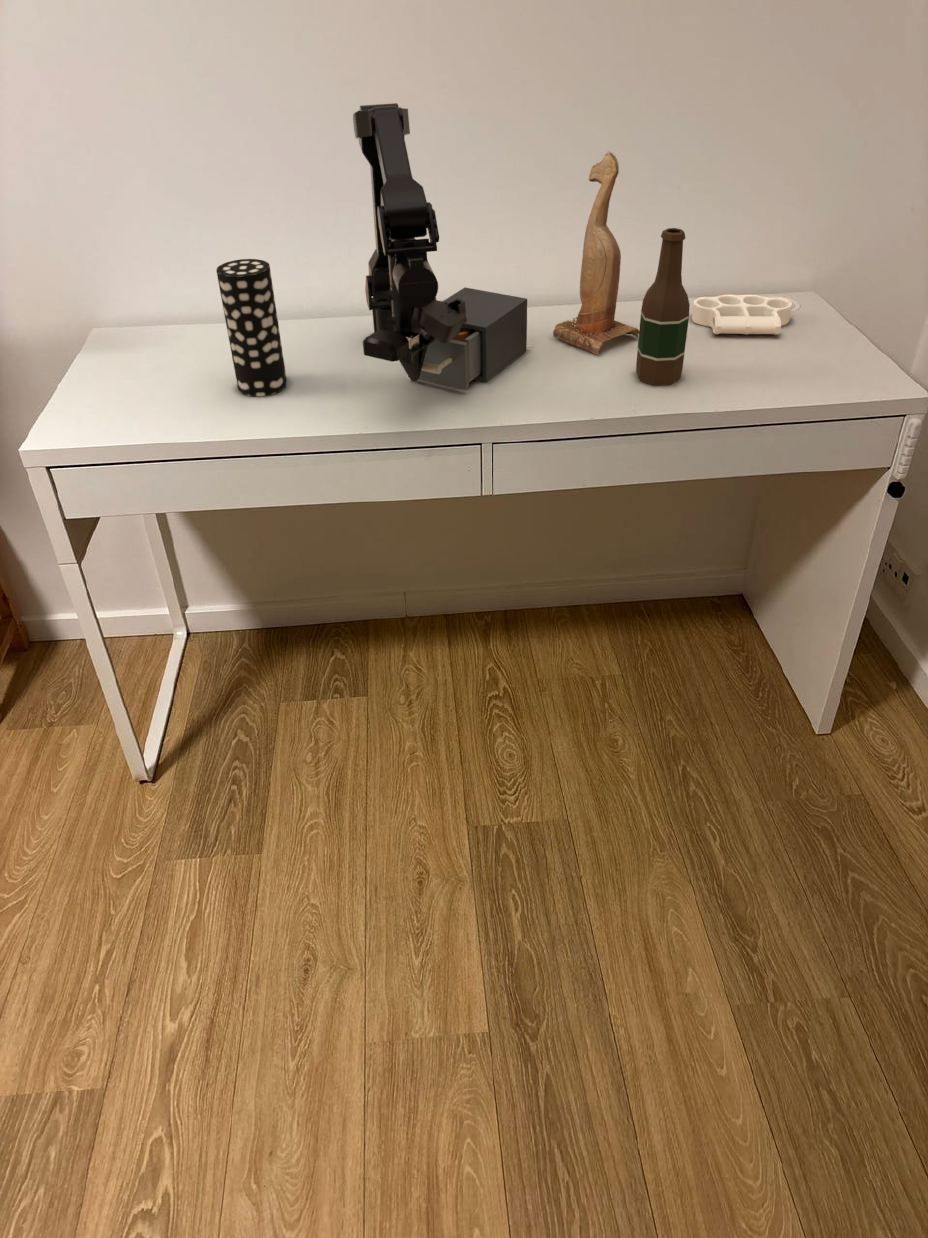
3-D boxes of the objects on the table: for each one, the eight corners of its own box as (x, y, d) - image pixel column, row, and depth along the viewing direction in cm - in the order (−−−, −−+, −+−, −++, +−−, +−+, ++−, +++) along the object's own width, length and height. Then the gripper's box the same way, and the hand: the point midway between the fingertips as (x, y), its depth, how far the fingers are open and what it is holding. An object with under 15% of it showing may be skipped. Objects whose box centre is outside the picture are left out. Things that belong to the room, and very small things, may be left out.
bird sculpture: (590, 322, 183) (600, 137, 163) (640, 338, 177) (657, 148, 157) (551, 339, 177) (557, 150, 157) (601, 357, 171) (614, 161, 151)
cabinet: (486, 382, 164) (486, 327, 158) (423, 368, 169) (420, 314, 163) (526, 351, 174) (527, 298, 168) (466, 338, 179) (464, 286, 173)
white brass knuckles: (696, 338, 176) (688, 308, 188) (797, 339, 175) (783, 308, 186) (698, 320, 174) (690, 291, 185) (800, 320, 173) (786, 291, 184)
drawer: (450, 402, 156) (448, 356, 151) (391, 388, 161) (388, 343, 156) (504, 360, 168) (504, 316, 164) (448, 348, 173) (447, 305, 168)
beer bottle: (684, 370, 166) (703, 224, 151) (677, 389, 160) (695, 239, 145) (639, 364, 168) (653, 220, 153) (630, 383, 162) (643, 235, 147)
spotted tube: (240, 377, 168) (219, 260, 156) (288, 374, 168) (271, 257, 156) (235, 397, 161) (213, 277, 149) (285, 394, 162) (267, 274, 149)
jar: (435, 364, 165) (433, 330, 161) (451, 353, 169) (450, 319, 165) (462, 371, 163) (461, 336, 159) (478, 359, 166) (478, 325, 163)
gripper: (420, 313, 137) (426, 414, 146) (486, 272, 149) (487, 368, 159) (356, 300, 141) (365, 399, 151) (425, 262, 154) (429, 355, 163)
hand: (414, 380), depth 156 cm, fingers closed
